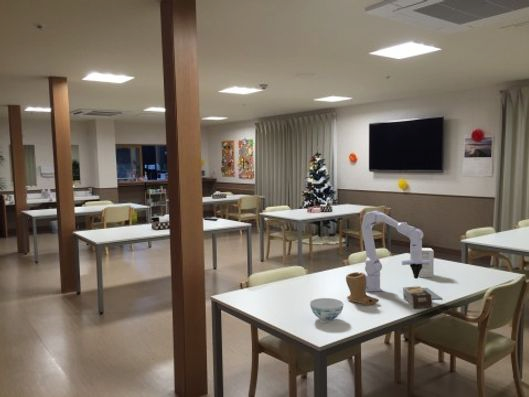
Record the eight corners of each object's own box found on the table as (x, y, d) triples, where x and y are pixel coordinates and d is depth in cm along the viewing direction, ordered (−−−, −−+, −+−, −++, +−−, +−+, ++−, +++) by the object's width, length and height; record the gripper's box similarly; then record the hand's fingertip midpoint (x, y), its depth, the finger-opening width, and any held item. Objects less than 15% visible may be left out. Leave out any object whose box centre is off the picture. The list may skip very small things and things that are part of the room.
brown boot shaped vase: (341, 300, 224) (340, 272, 223) (358, 296, 230) (358, 268, 229) (362, 308, 211) (362, 278, 210) (379, 304, 217) (379, 274, 216)
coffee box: (419, 285, 225) (432, 294, 209) (420, 297, 225) (433, 307, 209) (402, 287, 225) (413, 296, 209) (403, 299, 225) (414, 309, 209)
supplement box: (433, 277, 266) (434, 250, 265) (418, 277, 268) (418, 250, 267) (431, 274, 276) (431, 247, 274) (415, 273, 277) (416, 247, 276)
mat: (421, 299, 223) (421, 298, 223) (407, 289, 243) (407, 288, 243) (442, 299, 223) (442, 298, 223) (426, 288, 243) (426, 287, 243)
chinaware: (309, 325, 190) (309, 307, 190) (310, 313, 205) (310, 297, 204) (344, 326, 188) (343, 308, 187) (343, 314, 202) (343, 298, 202)
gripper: (404, 254, 223) (404, 280, 224) (432, 253, 223) (432, 279, 224) (400, 251, 230) (400, 276, 231) (427, 251, 230) (427, 276, 231)
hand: (415, 278), depth 228 cm, fingers closed
